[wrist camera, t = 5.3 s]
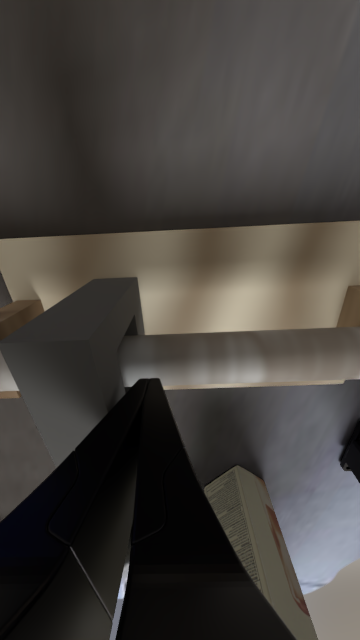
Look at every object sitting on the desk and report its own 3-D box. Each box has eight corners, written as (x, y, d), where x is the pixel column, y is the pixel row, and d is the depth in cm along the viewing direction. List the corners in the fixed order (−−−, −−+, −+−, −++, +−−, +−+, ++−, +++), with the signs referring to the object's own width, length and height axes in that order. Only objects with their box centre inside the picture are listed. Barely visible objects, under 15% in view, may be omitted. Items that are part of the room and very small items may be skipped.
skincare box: (231, 501, 24) (263, 678, 14) (202, 485, 22) (216, 668, 13) (268, 480, 22) (330, 665, 13) (238, 462, 21) (284, 653, 12)
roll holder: (391, 218, 12) (559, 217, 6) (338, 378, 16) (410, 451, 11) (-4, 239, 12) (-140, 252, 7) (54, 388, 17) (-3, 462, 12)
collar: (137, 276, 12) (88, 339, 6) (149, 368, 15) (125, 480, 8) (93, 279, 12) (-4, 343, 6) (113, 370, 15) (63, 482, 8)
